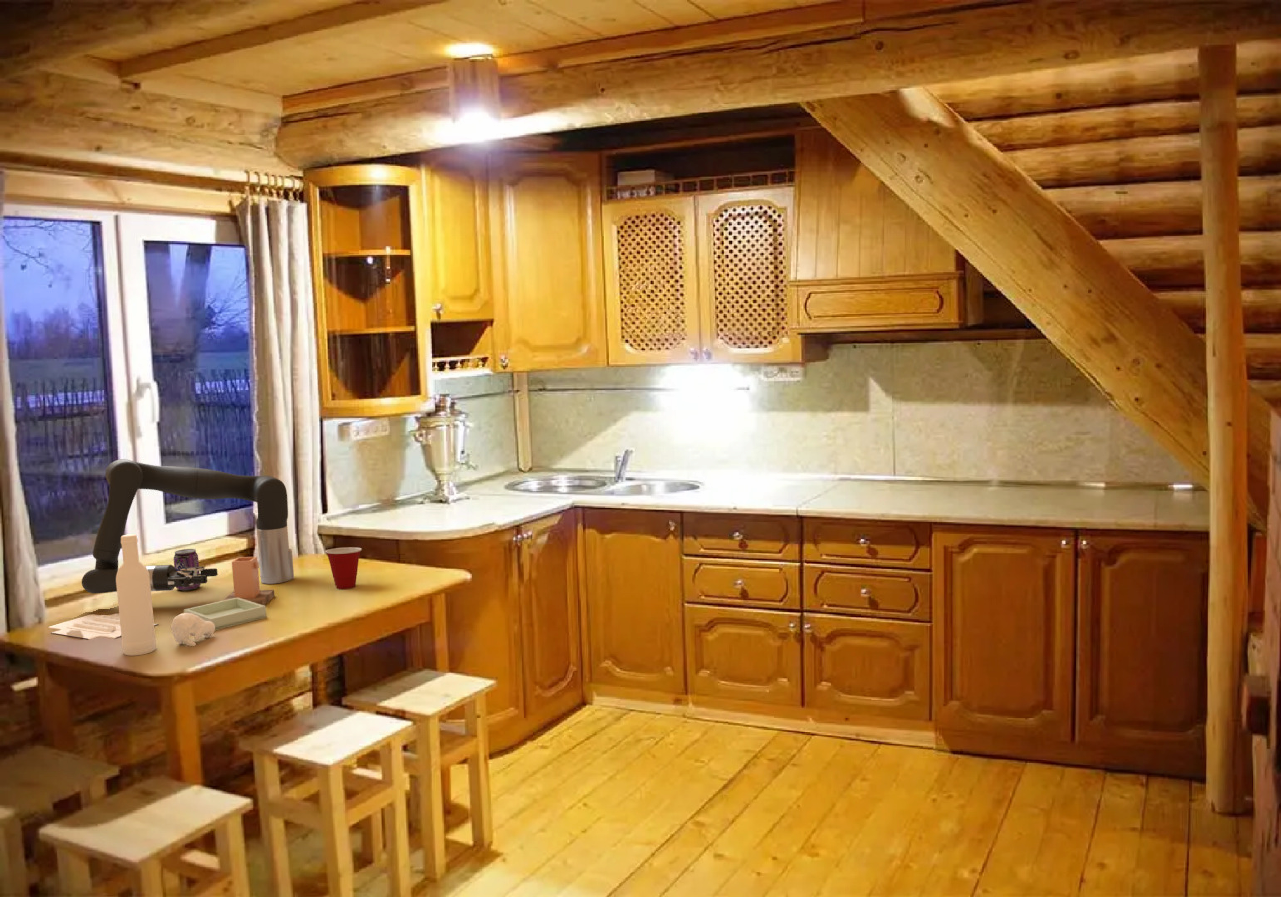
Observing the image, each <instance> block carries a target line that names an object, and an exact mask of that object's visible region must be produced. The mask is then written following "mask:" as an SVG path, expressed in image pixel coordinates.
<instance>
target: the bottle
mask: <svg viewBox="0 0 1281 897" xmlns="http://www.w3.org/2000/svg"><path fill="white" fill-rule="evenodd" d="M138 541H139V540H138V537H137V534H135V533H130V534H124V535H123V536H121V551H122V552H121V553H122V562H123V563H122V565H121V566H120V567H118V572H117V575H116V586H117V592H116V593H117V594H116V596H117V604H118V613H119V616H120V626H121V636H120V637H121V648H122V654H123V655H125V656H129V657H130V656H133V657H135V656H143V655H147V654H149V653H152V652H154V651H156V650H157V637H156V633H155V632H156V631H155V625H154V624H155V621H154V619H155V618H154V612H153V600H152V591H151V587H150V577H149V572H148V570H147V568H146V566H147V565H145V564H143V563H142V562H140V560H139V558H140V556H139V548H138V547H139V546H138Z"/></svg>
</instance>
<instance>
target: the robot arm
mask: <svg viewBox="0 0 1281 897" xmlns="http://www.w3.org/2000/svg"><path fill="white" fill-rule="evenodd" d="M105 478H106V481H107V483H108V484H109V494H108V501H107V506H106V509H105V512H104V513H103V514H104V515H103V516H102V517H103V518H102V520H101V522H100V525H99V527H98V530H97V532H96V536H95V541H94V546H93V550H92V557H93V558H94V559H95V566H94V569H91V570H89V571H87V572H85V574H84V575H83V576H82V578H81V585H82V588H83V589H84V591H85V592H87V593H89V594H105V593H115V592H116V593H117V586H116V575H117V572H118V569H119V556H120V551H121V549H122V544H121V536H123V535H125V530H126V526H127V520H128V517H129V513H130V510H131V507H132V504H133V502H134V499H135V496H136V494H137V492H138V490H151V491H153V490H154V491H158V492H162V493H166V494H170V495H174V496H179V497H183V498H184V497H185V498H189V499H190V498H191V499H201V500H221V499H223V500H224V499H238V500H245V501H249V502H253V503H254V502H255V503H257V506H256V507H257V519H256V521H255V523H256V526H255V527H256V538H257V548H258V563H259V572H260V575H259V578H260V583H262V584H267V585H268V584H270V585H272V584H281V583H286V582H289V581H291V580H294V579H295V574H294V561H293V560H294V559H293V550H292V549H291V548H290V545H289V544H290V543H289V542H290V541H289V532H288V518H289V507H288V506H289V502H288V492H287V488H286V485H285V483H284V482H283V481H282V480H280V479H278V478H276V477H274V476H271V475H243V474H241V475H239V474H234V473H233V474H232V473H229V472H225V471H220V470H214V469H209V468H201V467H191V466H174V465H173V466H172V465H171V466H165V465H164V466H162V465H154V464H149V463H143V462H139V461H134V460H130V459H126V458H122V459H116V460H115V461H112V462H111V463H109V465H108V466H107V468H106V470H105ZM145 566H146V568H147V570H148V572H149V577H150V587H151V592H163V591H164V592H165V591H166V592H168V591H169V592H170V591H173V590H175V588H176V587H188V586H189V585H193V583H194V584H201V585H202V584H207V582H208V577H217V576H218V575H219V574H218V569H217V568H205V566H199V567H191V568H184V569H180V571H176V570H175V567H174V564H173V565H172V564H159V565H158V564H157V565H156V564H155V565H145ZM197 571H199V572H200V573H197Z"/></svg>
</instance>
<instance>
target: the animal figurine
mask: <svg viewBox="0 0 1281 897" xmlns="http://www.w3.org/2000/svg"><path fill="white" fill-rule="evenodd" d="M170 630H171V631H172V636H173V637H174V639H175V642H176V643H178V644H179V645H183V644H185V645H187V646H188V647H195V646H196V645H197V644H196V642H195V641H197V640H199V639H200V638H201V637H205V638H206V639H207V638H212V636H213V634H214V632H215V631H216V630H215V625H214V623H213V622H211V621H204V620H203V619H202V618H199V616H197V615H194V614H192V613H184V612H183V613H180V614H178V615H176V616H175V617H173V620H172V622H171V626H170ZM189 636H193V639H194V640H195V641H194V640H192V639H189Z"/></svg>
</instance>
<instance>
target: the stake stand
mask: <svg viewBox="0 0 1281 897" xmlns="http://www.w3.org/2000/svg"><path fill="white" fill-rule="evenodd" d="M275 596H276V595H275V590H274V589H263V590H262V589H260V594H258V595H257V596H256V597H255V598H242V599H245V600H248V601H251V602H254V603H257V604H261V605H264V606H266V605H267V604H268V603H269V602H270V601H271V600H272V599H273V598H274V597H275ZM233 598H235V595H234V591H233V592H231V593H230V594H228V595H227V596H226V597H224V598H223V599H222V600H221V601H224V600H228V599H233Z"/></svg>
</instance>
